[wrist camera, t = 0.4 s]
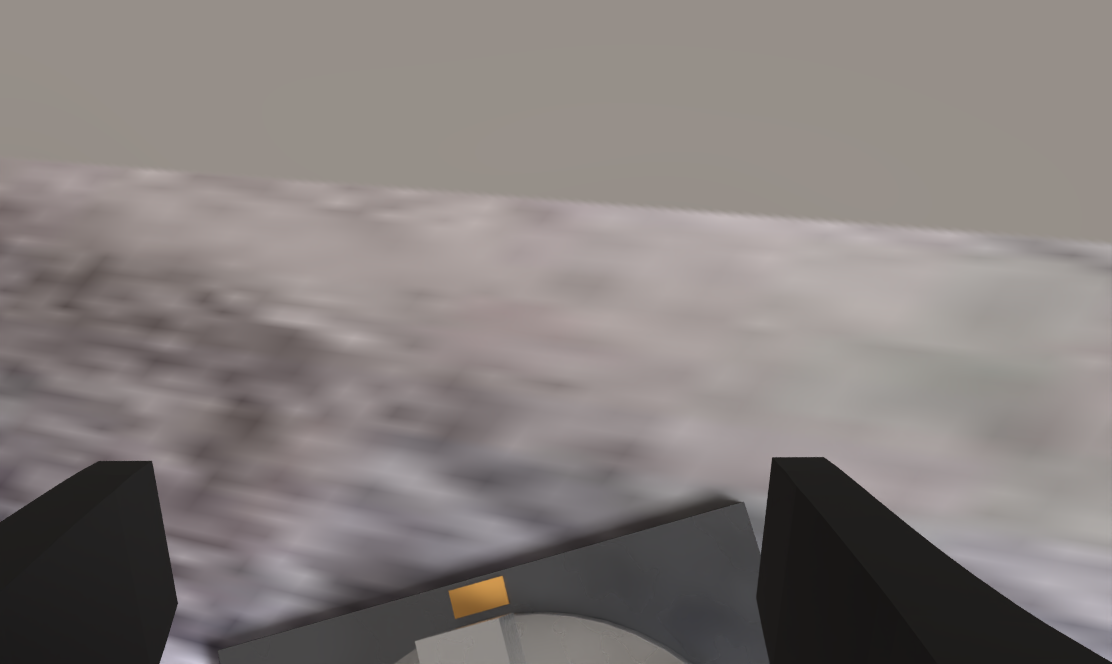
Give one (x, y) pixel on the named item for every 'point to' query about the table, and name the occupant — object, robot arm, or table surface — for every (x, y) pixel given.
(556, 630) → the metal disc with lugs
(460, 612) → the mount plate
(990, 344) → the table surface
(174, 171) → the table surface
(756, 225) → the table surface
